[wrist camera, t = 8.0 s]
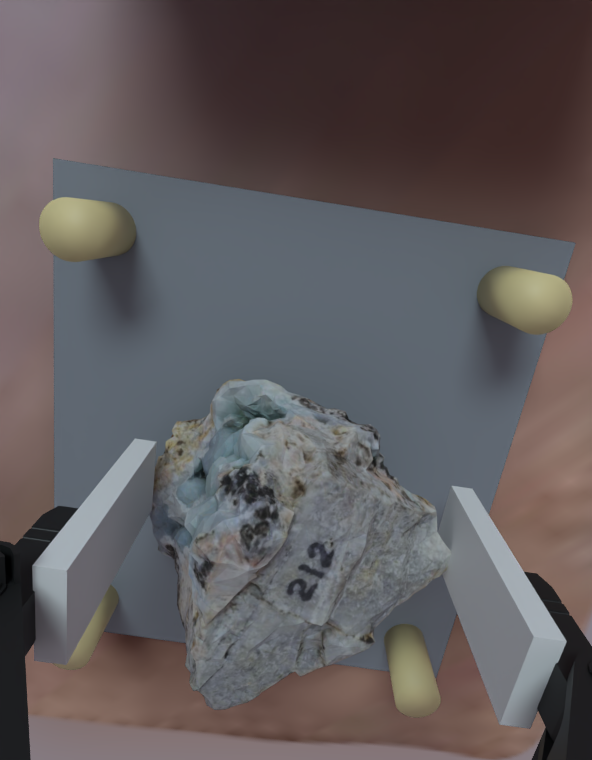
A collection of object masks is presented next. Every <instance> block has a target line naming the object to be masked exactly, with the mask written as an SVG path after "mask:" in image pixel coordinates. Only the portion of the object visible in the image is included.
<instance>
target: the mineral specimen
mask: <svg viewBox="0 0 592 760" xmlns="http://www.w3.org/2000/svg"><path fill="white" fill-rule="evenodd" d="M172 432H173V435H172V436H171V438H170V439H169V440H167V441H166V445H165V451H164V454H163V455H162V456H159V457H158V459H157V463H156V466H155V473H154V487H153V502H152V510H151V512H150V513H149V515H150V518H151V521H152V525H153V527H152V529H153V534H154V536H155V538H156V540H157V542H158V550H159V551H160V552H161V553H162V554H163V555H165V556H168V557H170V558H173V559H174V562H175V569H176V572H177V574H178V581H177V606H178V610H179V614H180V617H181V621H182V625H183V627H184V629H185V641H186V649H187V659H186V664H185V666H186V667H187V668H188V670H189V671H190V672H191V676H190V682H189V683H190V685H191V687H192V689H193V691H199V692H200V693H201V694H202V695H203V696H204V698H205V701H206V704H207V706H209V707H211V708H213V709H214V710H222V709H228V708H230V707H233V706H236V705H239V704H243V703H247V702H249V701H250V700H252V699H254V698H255V697H257V696H259V695H260V693H261V692H263V691H264V690H266V689H268V688H269V687H271V686H272V685H274V684H276V683H277V682H279V681H280V680H281V679H283V678H284V677H286V676H287V675H289V674H290V673H292V672H294V671H295V672H296V673H297V674H298V675H299V676H300V677H301V676H303V675H305V674H307V673H309V672H312V671H314V670H316V669H318V668H321V667H325V666H329V665H332V664H334V663H337V662H339V661H341V660H343V659H346V658H348V657H351V656H353V655H356V654H358V653H361V652H363V651H365V650H367V649H369V648H370V647H371V646H372V645H373V644H374V643H375V639H374V628H375V627H376V626H378V625H379V624H380V623H381V622H382V621H383V620H384V619H385V618H386V617H387V616H388V615H389V614H390V613H391V611H392V610H393V609H394V607H396V606H398V605H400V604H401V603H403V602H405V601H407V600H408V599H409V598H410V597H411V596H412V595H413V594H414V593H416V592H418V591H419V590H421V589H423V588H425V587H426V586H427V585H428V584H429V583H430V582H431V581H432V580H433V579H435V578H437V577H440V576H441V575H442V574H443V573H444V572H445V571H446V570H447V567H448V564H449V560H450V556H451V551H450V550H449V548H448V547H447V546H446V544H445V543H444V542H443V541H442V539H441V537H440V535H439V534H438V532H437V513H436V509H435V506H433V505H432V504H431V503H430V502H429V501H427V500H426V499H424V498H423V497H421V496H419V495H415V494H412V493H410V492H409V491H408V490H406V489H405V488H403V487H402V486H400V485H399V482H398V478H396V477H394V476H391V475H389V471H388V468H387V467H386V466H384V464H383V463H384V456H383V455H382V454H381V453H380V452H379V451H380V434H379V433H378V431H377V429H376V428H374V427H373V426H372V425H371V424H357V423H355V422H353V421H351V420H349V418H348V416H347V413H346V411H343V410H339V409H335V408H332V409H327V408H325V407H322V406H321V405H319V404H317V403H315V402H314V401H312V400H310V399H308V398H305V397H303V396H300V395H297V394H294V393H290V392H287V391H286V390H285V389H284V388H283V387H282V386H281V385H278V384H276V383H273V382H271V381H268V380H250V381H244V380H241V379H234V380H229V381H227V382H225V383H224V384H223V385H222V386H221V387H220V388H219V389H217V391H216V394H215V396H214V398H213V400H212V402H211V404H210V413H209V414H208V416H206V417H204V418H202V419H194V420H188V421H183V422H181V421H177V422H176V424H175V425H174V427H173V429H172Z"/></svg>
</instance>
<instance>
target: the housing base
mask: <svg viewBox="0 0 592 760" xmlns="http://www.w3.org/2000/svg"><path fill="white" fill-rule="evenodd" d="M39 230H40V234H41V238H42V240H43V242H44V244H45V245H46V247H47V248H48V249H49V250H50V251H51V253H53V254H54V508H56V507H57V506H66V507H72V508H79V507H80V506H81V505H82V503H83V502H84V501H85V500H86V499H87V497H88V496H89V495H90V494H91V492H92V491H93V490H94V489H95V487H96V486H97V485H98V484H99V482H100V481H101V480H102V479H103V477H104V476H105V475H106V474H107V473H108V471H109V470H110V469H111V468H112V466H113V465H114V464H115V463H116V461H117V460H118V459H119V458H120V456H121V455H122V454H123V453H124V451H125V450H126V449H127V448H128V447H129V445H130V444H131V443H132V442H133V440H134V439H142V440H149V441H155V442H157V444H156V458H155V466H156V463H157V459H158V457H159V456H162V455H163V454H164V451H165V445H166V441H167V440H169V439H170V438H171V436H172V435H173V432H172V429H173V427H174V425H175V424H176V422H177V421H181V422H183V421H188V420H194V419H202V418H204V417H206V416H208V414H209V413H210V404H211V402H212V400H213V398H214V396H215V394H216V391H217V389H219V388H220V387H221V386H222V385H223V384H224V383H225V382H227V381H229V380H234V379H241V380H244V381H250V380H268V381H271V382H273V383H276V384H278V385H281V386H282V387H283V388H284V389H285V390H286V391H287V392H290V393H294V394H297V395H300V396H303V397H305V398H308V399H310V400H312V401H314V402H315V403H317V404H319V405H321V406H322V407H325V408H327V409H332V408H335V409H339V410H343V411H346V413H347V416H348V418H349V420H351V421H353V422H355V423H357V424H371V425H372V426H373V427H374V428H376V429H377V431H378V433H379V434H380V451H379V452H380V453H381V454H382V455H383V456H384V463H383V464H384V466H386V467H387V468H388V471H389V475H391V476H394V477H396V478H398V482H399V485H400V486H402V487H403V488H405V489H406V490H408V491H409V492H410V493H412V494H415V495H419V496H421V497H423V498H424V499H426V500H427V501H429V502H430V503H431V504H432V505H433V506H435V509H436V513H437V532H438V530H439V527H440V523H441V520H442V516H443V513H444V509H445V506H446V502H447V499H448V495H449V492H450V488H451V486H458V487H464V488H471V489H473V491H474V492H475V494H476V495H477V497H478V499H479V500H480V502H481V504H482V505H483V507H484V508H485V510H486V512H487V513H488V515H489V512H490V509H491V505H492V502H493V499H494V496H495V493H496V490H497V487H498V484H499V480H500V477H501V474H502V471H503V468H504V465H505V462H506V459H507V456H508V452H509V449H510V446H511V443H512V440H513V437H514V434H515V431H516V427H517V424H518V421H519V418H520V415H521V412H522V409H523V406H524V402H525V399H526V396H527V393H528V390H529V387H530V384H531V381H532V378H533V374H534V371H535V368H536V365H537V362H538V359H539V356H540V353H541V349H542V346H543V343H544V340H545V337H546V334H547V333H548V332H551V331H553V330H555V329H556V328H558V327H559V326H560V325H561V324H562V323H563V322H564V321H565V320H566V318H567V317H568V315H569V313H570V310H571V307H572V293H571V290H570V288H569V286H568V285H567V283H566V282H565V281H564V278H565V275H566V272H567V268H568V265H569V262H570V259H571V256H572V253H573V250H574V247H575V243H574V242H567V241H561V240H555V239H549V238H543V237H537V236H530V235H524V234H518V233H512V232H506V231H500V230H493V229H487V228H481V227H475V226H469V225H462V224H456V223H450V222H444V221H438V220H432V219H425V218H419V217H413V216H407V215H401V214H394V213H388V212H382V211H376V210H370V209H364V208H357V207H351V206H345V205H339V204H333V203H327V202H320V201H314V200H308V199H302V198H296V197H289V196H283V195H277V194H271V193H265V192H259V191H252V190H246V189H240V188H234V187H228V186H222V185H215V184H209V183H203V182H197V181H191V180H184V179H178V178H172V177H166V176H160V175H154V174H147V173H141V172H135V171H129V170H123V169H117V168H110V167H104V166H98V165H92V164H86V163H79V162H73V161H67V160H61V159H55V158H53V201H51V202H50V203H48V204H47V205H46V206H45V208H44V209H43V211H42V213H41V216H40V220H39ZM152 527H153V525H152V521H151V518H150V515H148V517H147V519H146V521H145V523H144V524H143V526H142V528H141V530H140V532H139V533H138V535H137V537H136V539H135V541H134V543H133V544H132V546H131V548H130V550H129V552H128V554H127V555H126V557H125V559H124V561H123V563H122V564H121V566H120V568H119V570H118V572H117V574H116V575H115V577H114V579H113V581H112V583H111V585H110V586H109V588H108V590H107V592H106V594H105V596H104V597H103V599H102V601H101V603H100V605H99V606H98V608H97V610H96V612H95V614H94V616H93V617H92V619H91V621H90V623H89V625H88V627H87V628H86V630H85V632H84V634H83V636H82V637H81V639H80V641H79V643H78V645H77V647H76V648H75V650H74V652H73V654H72V656H71V658H70V659H69V661H68V663H67V665H63V664H55V663H52V664H54V665H55V666H57V667H59V668H62V669H66V670H76V669H80V668H82V667H84V666H85V665H86V664H87V663H88V662H89V660H90V658H91V656H92V654H93V652H94V650H95V648H96V646H97V644H98V642H99V640H100V638H101V636H102V634H103V632H110V633H117V634H124V635H132V636H139V637H146V638H153V639H160V640H167V641H174V642H182V643H186V641H185V629H184V627H183V625H182V621H181V617H180V614H179V610H178V606H177V581H178V574H177V572H176V569H175V562H174V559H173V558H170V557H168V556H165V555H163V554H162V553H161V552H160V551H159V550H158V542H157V540H156V538H155V536H154V534H153V529H152ZM456 615H457V612H456V609H455V606H454V604H453V601H452V598H451V596H450V593H449V591H448V588H447V585H446V583H445V580H444V577H443V575H441V576H440V577H437V578H435V579H433V580H432V581H431V582H430V583H429V584H428V585H427V586H426V587H425V588H423V589H421V590H419V591H418V592H416V593H414V594H413V595H412V596H411V597H410V598H409V599H408V600H407V601H405V602H403V603H401V604H400V605H398V606H396V607H394V609H393V610H392V611H391V613H390V614H389V615H388V616H387V617H386V618H385V619H384V620H383V621H382V622H381V623H380V624H379V625H378V626H376V627H375V628H374V639H375V643H374V644H373V645H372V646H371V647H370V648H369V649H367V650H365V651H363V652H361V653H358V654H356V655H353V656H351V657H348V658H346V659H343V660H341V661H339V662H337V663H334V664H339V665H346V666H353V667H360V668H367V669H374V670H382V671H389V672H390V677H391V682H392V688H393V693H394V699H395V704H396V707H397V709H398V710H399V711H400V712H401V713H402V714H404V715H406V716H409V717H414V718H420V717H425V716H428V715H430V714H432V713H434V712H435V711H436V710H437V709H438V707H439V705H440V702H441V698H440V694H439V691H438V687H437V683H436V680H435V678H436V677H437V674H438V671H439V668H440V664H441V661H442V658H443V655H444V652H445V649H446V646H447V643H448V640H449V636H450V633H451V630H452V627H453V624H454V621H455V618H456Z"/></svg>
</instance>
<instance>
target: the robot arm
mask: <svg viewBox="0 0 592 760" xmlns="http://www.w3.org/2000/svg"><path fill="white" fill-rule="evenodd" d="M156 444H157V442H155V441H149V440H142V439H134V440H133V442H132V443H131V444H130V445H129V447H128V448H127V449H126V450H125V451H124V453H123V454H122V455H121V456H120V458H119V459H118V460H117V461H116V463H115V464H114V465H113V466H112V468H111V469H110V470H109V471H108V473H107V474H106V475H105V476H104V477H103V479H102V480H101V481H100V482H99V484H98V485H97V486H96V487H95V489H94V490H93V491H92V492H91V494H90V495H89V496H88V497H87V499H86V500H85V501H84V502H83V503H82V505H81V506H80V507H79V508H72V507H66V506H57V507H56V508H54V509H52V510H50V511H48V512H47V513H45V514H43V515H42V516H41V517H40V518H39V519H38V520H37V522H36V523H35V524H34V525H33V526H32V528H31V529H29V530H28V531H27V532H26V534H25V535H24V536H23V538H22V539H20V540H19V541H18V542H17V543H16V544H15V546H14V545H13V544H11V543H9V542H3V541H0V760H30V744H29V724H28V705H27V687H26V668H25V656H26V654H27V653H28V651H29V650H30V648H31V646H32V645H33V643H34V661H41V662H48V663H55V664H63V665H67V663H68V661H69V659H70V658H71V656H72V654H73V652H74V650H75V648H76V647H77V645H78V643H79V641H80V639H81V637H82V636H83V634H84V632H85V630H86V628H87V627H88V625H89V623H90V621H91V619H92V617H93V616H94V614H95V612H96V610H97V608H98V606H99V605H100V603H101V601H102V599H103V597H104V596H105V594H106V592H107V590H108V588H109V586H110V585H111V583H112V581H113V579H114V577H115V575H116V574H117V572H118V570H119V568H120V566H121V564H122V563H123V561H124V559H125V557H126V555H127V554H128V552H129V550H130V548H131V546H132V544H133V543H134V541H135V539H136V537H137V535H138V533H139V532H140V530H141V528H142V526H143V524H144V523H145V521H146V519H147V517H148V515H149V513H150V512H151V510H152V502H153V487H154V473H155V458H156ZM438 534H439V535H440V537H441V539H442V541H443V542H444V543H445V544H446V546H447V547H448V548H449V550H450V551H451V556H450V560H449V564H448V567H447V570H446V571H445V572H444V573H443V574H442V575H443V577H444V580H445V583H446V585H447V588H448V591H449V593H450V596H451V598H452V601H453V604H454V606H455V609H456V612H457V614H458V617H459V619H460V622H461V625H462V627H463V630H464V633H465V635H466V638H467V640H468V643H469V646H470V648H471V651H472V654H473V656H474V659H475V661H476V664H477V667H478V669H479V672H480V675H481V677H482V680H483V682H484V685H485V688H486V690H487V693H488V695H489V698H490V701H491V703H492V706H493V709H494V711H495V714H496V716H497V719H498V722H499V724H500V725H507V726H514V727H521V728H529V729H530V728H531V726H532V723H533V721H534V719H535V716H536V714H537V711H539V713H540V715H541V718H542V720H543V722H544V724H545V726H546V728H545V730H544V733H543V735H542V737H541V740H540V742H539V744H538V747H537V749H536V751H535V754H534V756H533V758H532V760H592V646H591V645H590V643H589V642H588V640H587V639H586V637H585V636H584V634H583V633H582V631H581V630H580V628H579V627H578V625H577V624H576V622H575V621H574V619H573V618H572V616H569V612H568V610H567V609H566V607H565V606H564V604H562V603H561V600H560V598H559V597H558V595H557V594H556V592H555V591H554V589H553V588H552V587H551V586H550V585H549V584H548V583H547V582H546V581H545V580H543V579H542V578H541V577H540V576H539V575H538V574H536V573H529V572H523V570H522V568H521V567H520V565H519V563H518V562H517V560H516V559H515V557H514V555H513V554H512V552H511V550H510V549H509V547H508V546H507V544H506V542H505V541H504V539H503V538H502V536H501V534H500V533H499V531H498V529H497V528H496V526H495V525H494V523H493V521H492V520H491V518H490V517H489V515H488V513H487V512H486V510H485V508H484V507H483V505H482V504H481V502H480V500H479V499H478V497H477V495H476V494H475V492H474V491H473V489H471V488H464V487H458V486H451V488H450V492H449V495H448V499H447V502H446V506H445V509H444V513H443V516H442V520H441V523H440V527H439V530H438Z"/></svg>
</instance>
